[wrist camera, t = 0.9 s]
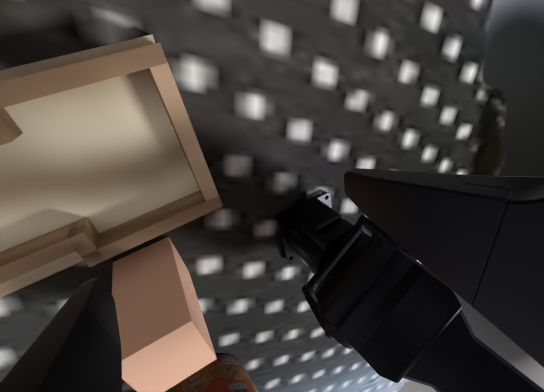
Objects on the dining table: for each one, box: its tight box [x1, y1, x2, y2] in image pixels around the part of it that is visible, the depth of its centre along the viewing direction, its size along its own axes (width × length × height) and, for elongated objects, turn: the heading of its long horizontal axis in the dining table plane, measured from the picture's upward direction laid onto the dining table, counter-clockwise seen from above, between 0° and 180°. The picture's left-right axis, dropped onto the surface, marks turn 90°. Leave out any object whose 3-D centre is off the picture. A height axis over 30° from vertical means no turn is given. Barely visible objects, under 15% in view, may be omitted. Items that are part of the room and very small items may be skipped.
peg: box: [112, 237, 217, 392], centre depth 19 cm, size 4×4×9 cm
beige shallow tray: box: [0, 35, 223, 298], centre depth 15 cm, size 12×22×3 cm, turn 104°
